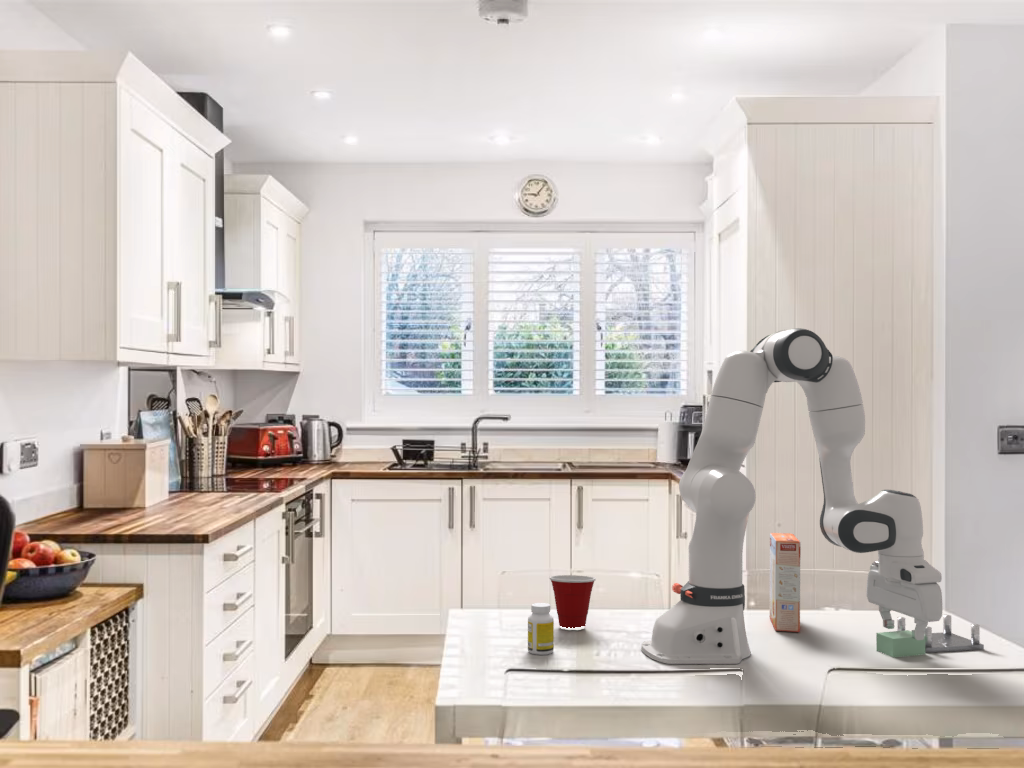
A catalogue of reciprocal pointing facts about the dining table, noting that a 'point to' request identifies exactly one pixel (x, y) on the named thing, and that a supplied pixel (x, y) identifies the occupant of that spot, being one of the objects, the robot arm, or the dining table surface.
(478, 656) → the dining table surface
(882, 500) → the robot arm
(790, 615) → the cracker box
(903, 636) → the green rectangular block
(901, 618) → the chassis
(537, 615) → the supplement bottle
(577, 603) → the plastic cup
